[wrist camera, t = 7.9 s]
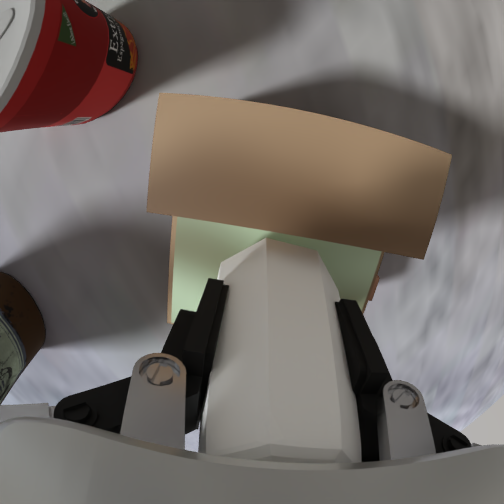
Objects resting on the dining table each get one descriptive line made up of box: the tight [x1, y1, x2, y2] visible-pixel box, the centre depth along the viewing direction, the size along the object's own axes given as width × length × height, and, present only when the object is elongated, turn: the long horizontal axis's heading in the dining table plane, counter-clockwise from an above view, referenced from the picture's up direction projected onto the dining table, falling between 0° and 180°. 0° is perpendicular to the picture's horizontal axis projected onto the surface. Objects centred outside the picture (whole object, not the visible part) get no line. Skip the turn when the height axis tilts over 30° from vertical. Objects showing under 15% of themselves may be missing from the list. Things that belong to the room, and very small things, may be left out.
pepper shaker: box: [198, 238, 362, 464], centre depth 8 cm, size 5×5×11 cm
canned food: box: [0, 0, 138, 132], centre depth 11 cm, size 8×8×11 cm
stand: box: [147, 93, 452, 324], centre depth 16 cm, size 15×11×10 cm
